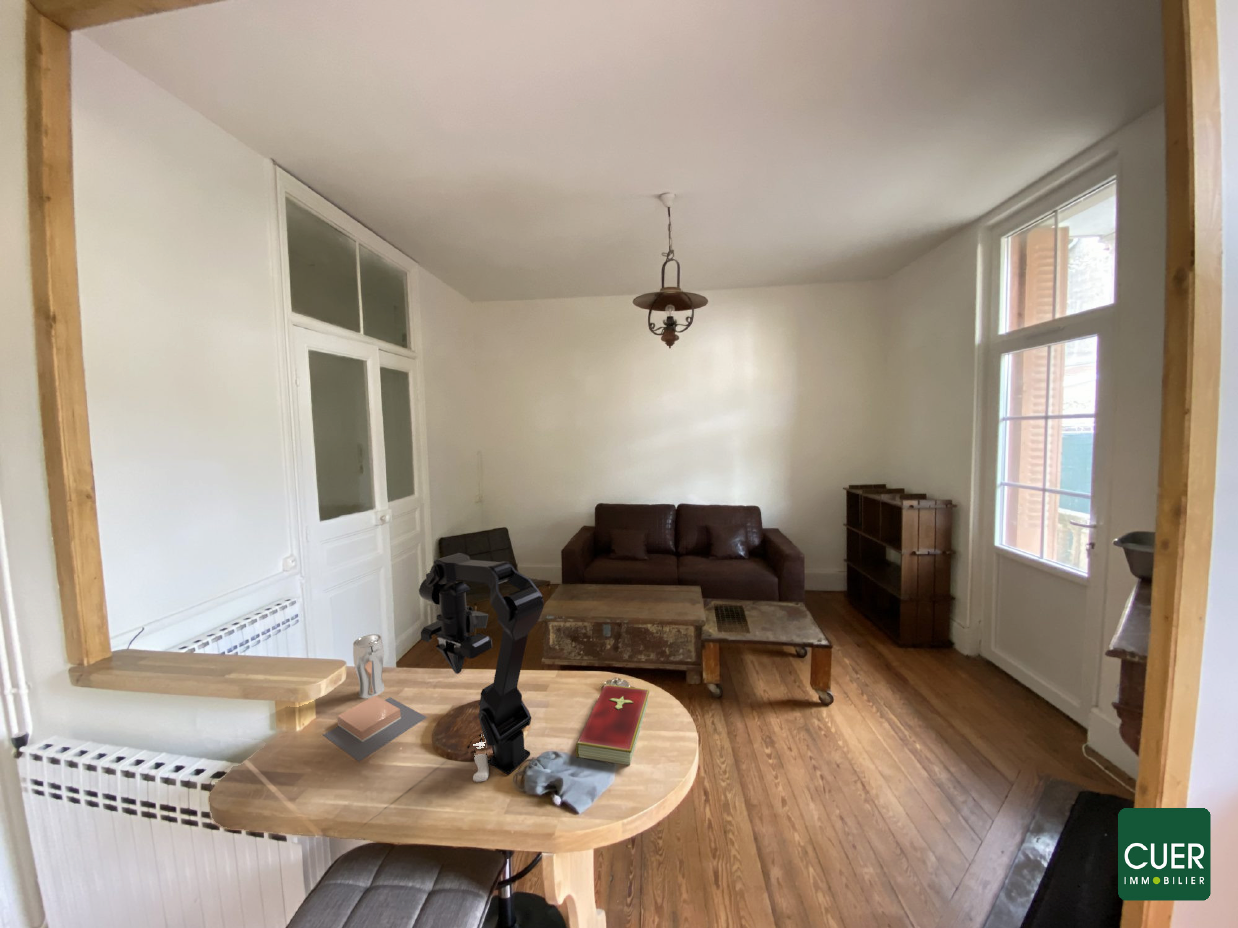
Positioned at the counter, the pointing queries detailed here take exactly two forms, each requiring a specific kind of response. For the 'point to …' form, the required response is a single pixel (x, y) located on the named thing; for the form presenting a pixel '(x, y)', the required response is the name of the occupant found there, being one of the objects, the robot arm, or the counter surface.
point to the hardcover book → (614, 725)
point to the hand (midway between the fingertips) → (458, 672)
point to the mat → (379, 739)
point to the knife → (481, 764)
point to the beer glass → (369, 664)
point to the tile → (368, 718)
